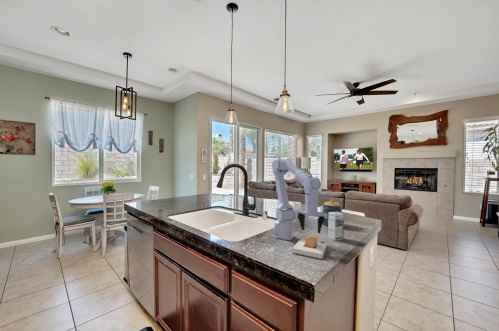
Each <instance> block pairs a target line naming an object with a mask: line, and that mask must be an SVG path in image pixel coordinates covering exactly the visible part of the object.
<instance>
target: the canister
mask: <svg viewBox="0 0 499 331" xmlns="http://www.w3.org/2000/svg"><path fill="white" fill-rule="evenodd" d="M321 208H322V211H321V213H326V214H327V219H325V220H324V222H323V224H322V226H325V227H328V213H329V212H340V213H343V212H342V211H343V207H342V204H341V203H339V202H338V201H335V199H334V198H331V199H330V201H325V202H324V203H323V205H322V206H321Z"/></svg>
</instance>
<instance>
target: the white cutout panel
mask: <svg viewBox="0 0 499 331" xmlns="http://www.w3.org/2000/svg"><path fill="white" fill-rule="evenodd" d="M327 249H328V242H327V241H323V240H317V246H316V248H315V249H314V248H308V247H305V237H300V239H299V240H298V241H297V242H296V243H295V245H294V246H293V247H292V254H294V255H298V256H303V257H307V258H308V257H309V258H313V259H317V260H323V258H324V256H325V254H326V251H327Z"/></svg>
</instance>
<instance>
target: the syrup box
mask: <svg viewBox="0 0 499 331" xmlns="http://www.w3.org/2000/svg"><path fill="white" fill-rule="evenodd" d="M344 219H345V217H344V213H343V212H342V213H340V212H329V213H328V226H327V227H328V228H327V229H328V230H327V231H328V234H327V235H328V238H329V239H331V240H332V241H334V242H335V241H344V232H345V230H344V229H345V228H344V225H345V224H344V221H345V220H344Z"/></svg>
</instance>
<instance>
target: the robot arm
mask: <svg viewBox="0 0 499 331" xmlns="http://www.w3.org/2000/svg"><path fill="white" fill-rule="evenodd" d="M271 165H272V166H271V167H272V171H273V175H274V181H275V186H276V192H277V198H278V204H279V205H278V206H277V207H276V209H275V212H276V213H275V217H276V219H277V220H276V221H275V222H274V231H273V232H274V236H273V238H274V239H279V240H280V239H281V240H287V241H292V240H293V238H294V237H295V235H294V234H293V222H294V220H295V219H296V216H297V219H298V221H299V224H300V228H301V231H304V230H305V220H306V219H305V218H306V216H308V217H315V218H316V217H317V234H321V230H322V226H323V222H324V220H325V219H327V214H326V213H322V211H321V212H320V211H319V210H318V208H319V207H318V206H319V205H318V204H319V203H318V202H319V201H318V199H319V189H320V188H321V187H322V186H321V184H322V182H321V180H320V178H319V177H314V176H313V175H312V174H310V173H308V172H307V170H306V169H300V168H298V167H297V166H296V165H295V163H293V161H292V160H290V158H289V159H287V158H286V159H284V158H283V159H280V158H279V159H278V158H275V159H274V160H272V163H271ZM289 172H290V173H292V174H293V175H295V176H294V177H295V179H296V180H297V181H298V182H299V183H301V184H302V187H303V189H304V193H305V196H304V198H305V201H304V202H305V205H304V206H305V207H304V209H296V210H295V209H294V206H293V205H292V204H290V201H289V196H288V190H287V187H286V182H285V175H287V174H288V173H289Z"/></svg>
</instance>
